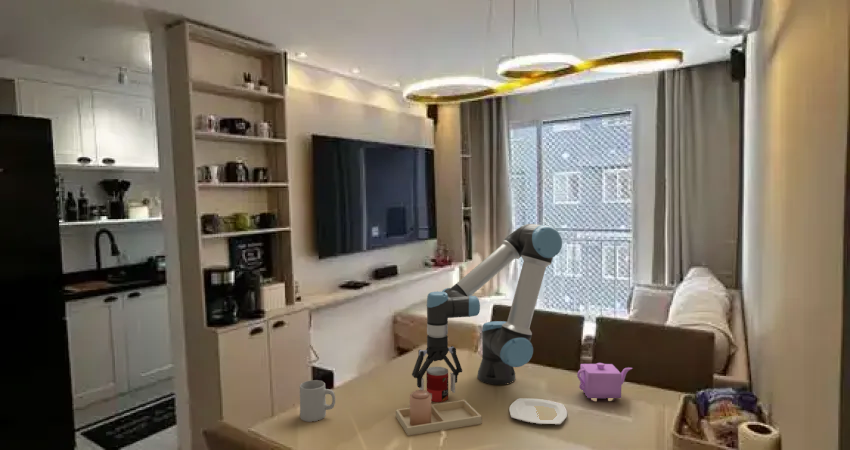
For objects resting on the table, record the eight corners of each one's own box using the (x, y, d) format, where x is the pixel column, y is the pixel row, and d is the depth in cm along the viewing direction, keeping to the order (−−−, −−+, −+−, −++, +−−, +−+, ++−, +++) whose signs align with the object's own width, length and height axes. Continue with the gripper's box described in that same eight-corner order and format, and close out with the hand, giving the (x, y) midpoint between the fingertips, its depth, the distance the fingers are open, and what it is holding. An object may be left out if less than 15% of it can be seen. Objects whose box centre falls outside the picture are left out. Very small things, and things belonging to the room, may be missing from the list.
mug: (296, 421, 166) (295, 389, 166) (304, 410, 175) (304, 379, 174) (332, 422, 166) (331, 390, 165) (338, 411, 174) (338, 380, 173)
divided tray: (464, 407, 177) (464, 399, 176) (481, 425, 163) (481, 416, 163) (395, 418, 169) (395, 409, 168) (407, 437, 155) (407, 428, 155)
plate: (568, 408, 177) (568, 402, 177) (565, 432, 159) (565, 426, 159) (514, 400, 183) (514, 395, 183) (504, 423, 165) (504, 418, 165)
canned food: (446, 404, 179) (446, 374, 179) (424, 402, 181) (424, 372, 180) (449, 396, 187) (449, 367, 186) (428, 394, 188) (428, 365, 188)
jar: (427, 416, 168) (427, 388, 168) (434, 425, 162) (434, 396, 161) (407, 419, 166) (407, 390, 166) (413, 429, 160) (413, 398, 159)
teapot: (580, 402, 181) (581, 368, 180) (573, 391, 191) (573, 358, 190) (637, 403, 180) (637, 368, 180) (626, 392, 190) (627, 359, 190)
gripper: (463, 329, 190) (463, 385, 191) (402, 335, 182) (403, 393, 184) (471, 334, 183) (471, 393, 184) (409, 340, 175) (409, 401, 176)
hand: (437, 393), depth 184 cm, fingers open, 11 cm apart
